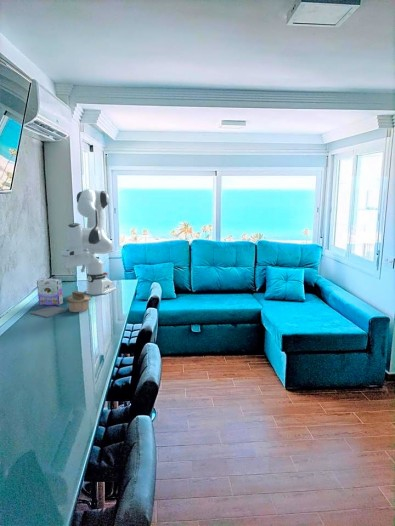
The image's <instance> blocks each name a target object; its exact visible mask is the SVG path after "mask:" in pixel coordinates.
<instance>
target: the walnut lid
mask: <svg viewBox="0 0 395 526" xmlns="http://www.w3.org/2000/svg"><path fill="white" fill-rule="evenodd" d="M71 293H72V295H70V296H68V297H67V298H66V303H68V304H69V303H82V302H87V301H88V302H90V300H91V296H90V295H89V294H85V292H83V291H78V290H75V291H72V292H71Z"/></svg>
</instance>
